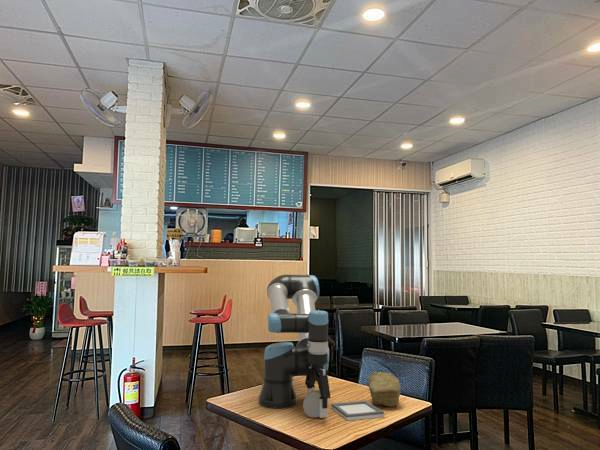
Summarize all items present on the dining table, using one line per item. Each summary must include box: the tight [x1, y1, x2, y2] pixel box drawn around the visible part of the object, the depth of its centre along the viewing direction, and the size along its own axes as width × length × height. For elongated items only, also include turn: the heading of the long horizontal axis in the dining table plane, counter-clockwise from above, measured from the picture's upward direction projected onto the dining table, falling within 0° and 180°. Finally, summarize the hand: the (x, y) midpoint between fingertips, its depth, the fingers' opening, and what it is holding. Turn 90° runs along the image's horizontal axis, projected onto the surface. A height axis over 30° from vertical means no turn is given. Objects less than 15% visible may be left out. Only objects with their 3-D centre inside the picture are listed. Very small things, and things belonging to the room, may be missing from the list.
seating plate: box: [330, 400, 385, 422], centre depth 168 cm, size 15×15×2 cm
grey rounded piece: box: [302, 389, 321, 419], centre depth 164 cm, size 10×10×10 cm
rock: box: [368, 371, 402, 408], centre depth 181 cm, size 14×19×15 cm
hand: (316, 411), depth 164 cm, fingers open, 13 cm apart
